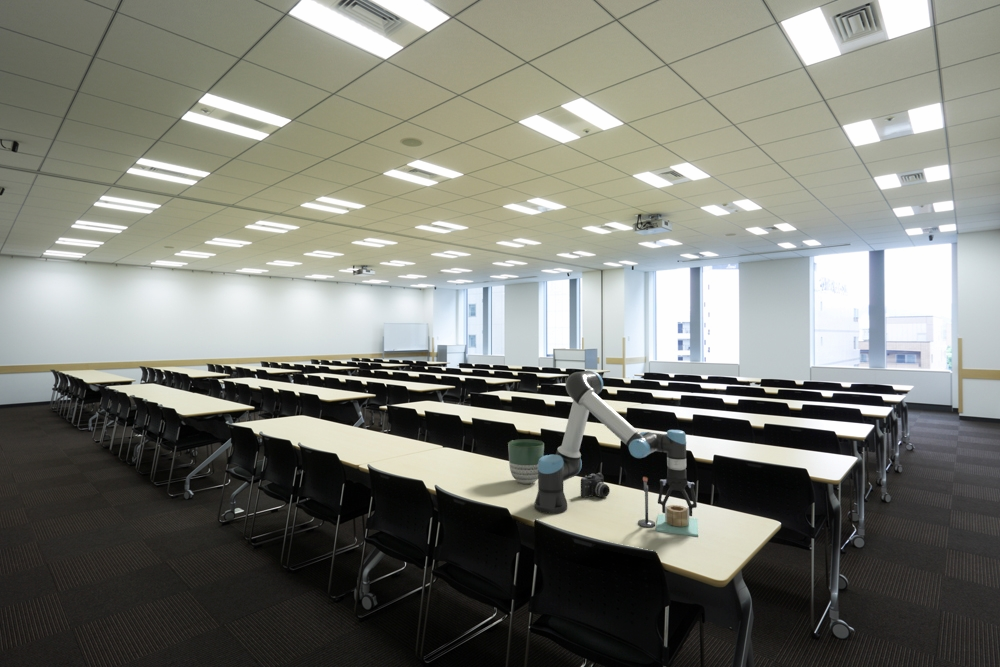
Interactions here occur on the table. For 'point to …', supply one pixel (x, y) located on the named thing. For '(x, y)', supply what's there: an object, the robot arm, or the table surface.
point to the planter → (525, 459)
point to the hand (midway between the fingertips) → (677, 522)
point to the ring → (677, 515)
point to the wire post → (646, 508)
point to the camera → (594, 486)
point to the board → (677, 527)
